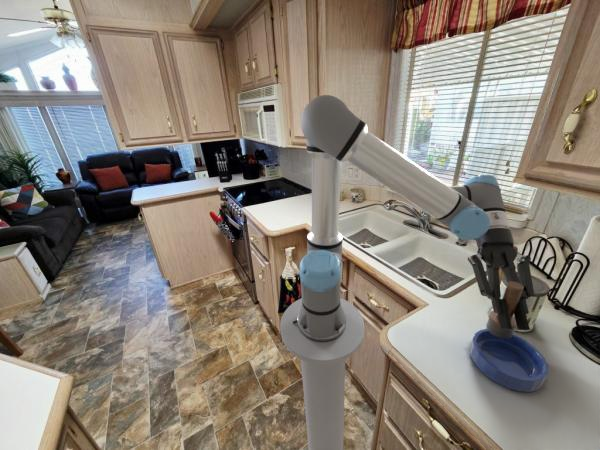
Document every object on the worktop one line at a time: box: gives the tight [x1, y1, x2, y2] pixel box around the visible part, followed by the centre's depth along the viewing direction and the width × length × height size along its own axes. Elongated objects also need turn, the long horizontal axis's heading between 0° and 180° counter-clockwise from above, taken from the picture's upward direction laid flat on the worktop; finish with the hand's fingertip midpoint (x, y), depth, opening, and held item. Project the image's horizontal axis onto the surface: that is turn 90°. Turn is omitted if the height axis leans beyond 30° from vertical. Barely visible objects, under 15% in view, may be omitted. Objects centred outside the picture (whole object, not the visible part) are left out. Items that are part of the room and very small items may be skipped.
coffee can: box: [490, 271, 551, 333], centre depth 73 cm, size 10×10×14 cm
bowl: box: [469, 328, 549, 393], centre depth 62 cm, size 15×15×4 cm
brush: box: [485, 281, 524, 339], centre depth 59 cm, size 6×6×14 cm
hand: (515, 329), depth 56 cm, fingers closed on brush, 3 cm apart
